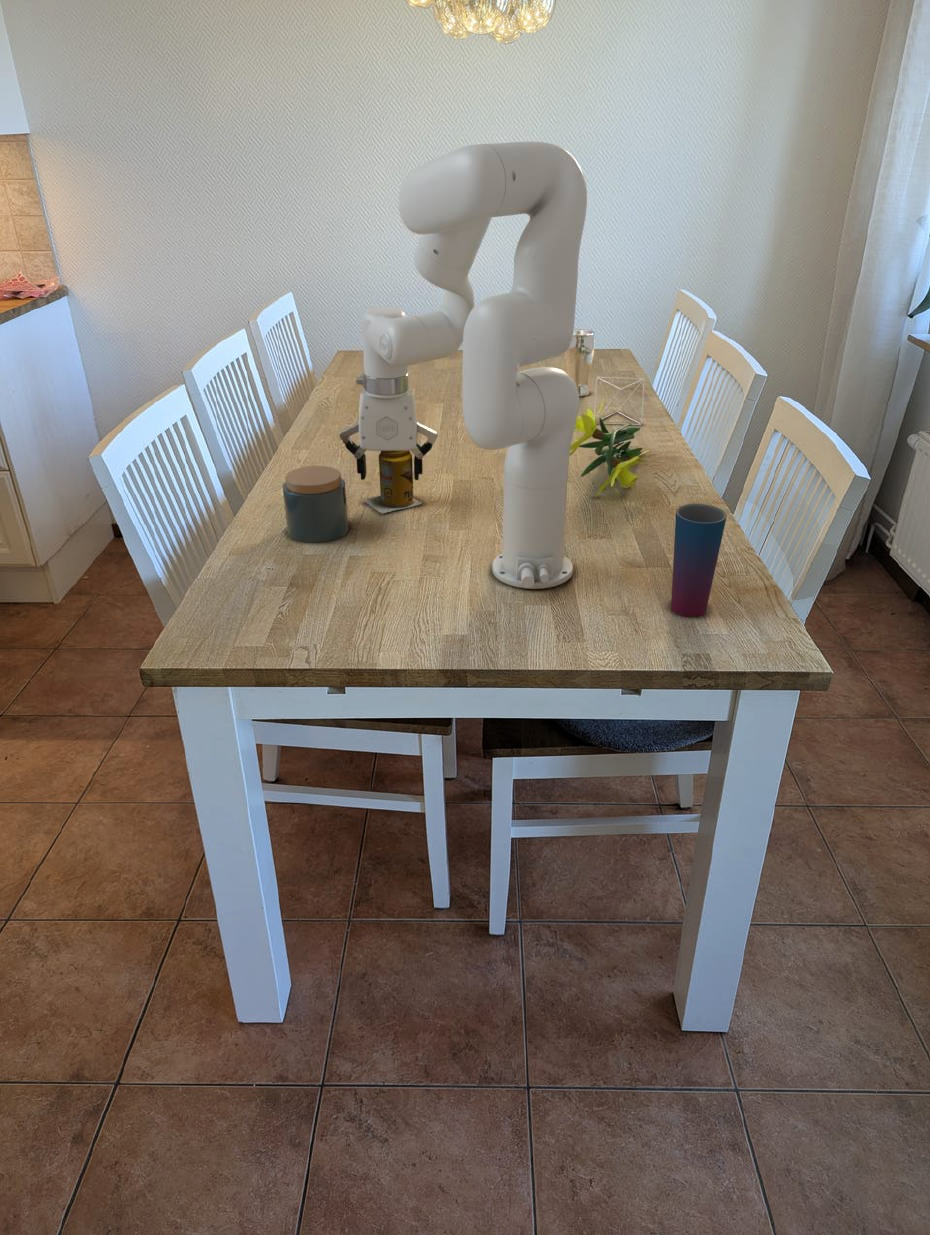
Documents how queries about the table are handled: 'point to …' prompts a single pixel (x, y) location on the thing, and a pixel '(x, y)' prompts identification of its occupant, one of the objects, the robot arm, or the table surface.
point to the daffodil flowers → (611, 454)
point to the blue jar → (315, 504)
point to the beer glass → (580, 359)
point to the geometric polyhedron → (616, 395)
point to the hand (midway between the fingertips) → (390, 477)
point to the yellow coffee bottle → (394, 482)
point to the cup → (695, 556)
